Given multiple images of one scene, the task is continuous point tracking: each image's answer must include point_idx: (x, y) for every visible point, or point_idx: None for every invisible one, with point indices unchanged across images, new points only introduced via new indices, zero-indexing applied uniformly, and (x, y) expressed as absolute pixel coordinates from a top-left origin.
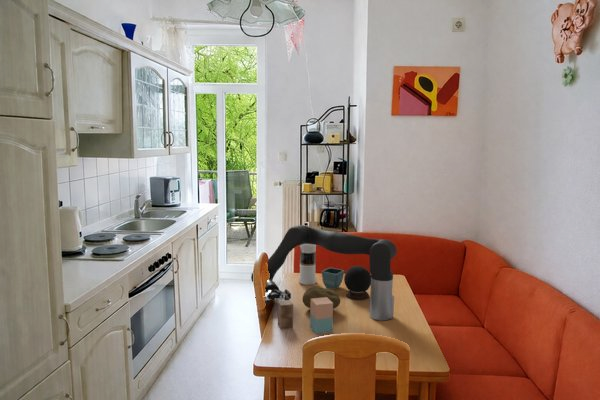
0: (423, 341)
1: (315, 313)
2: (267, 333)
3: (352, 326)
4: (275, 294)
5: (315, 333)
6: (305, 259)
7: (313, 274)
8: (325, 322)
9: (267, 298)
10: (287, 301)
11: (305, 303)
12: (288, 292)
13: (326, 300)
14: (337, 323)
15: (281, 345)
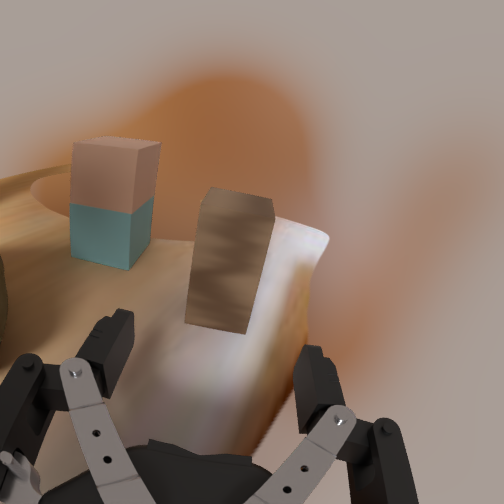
0: (20, 177)
1: (154, 177)
2: (304, 298)
3: (30, 226)
4: (187, 451)
5: (148, 243)
6: None
7: None
8: None
9: (318, 369)
10: (223, 201)
11: (5, 323)
12: (13, 391)
13: (103, 139)
14: (37, 247)
15: (274, 248)
